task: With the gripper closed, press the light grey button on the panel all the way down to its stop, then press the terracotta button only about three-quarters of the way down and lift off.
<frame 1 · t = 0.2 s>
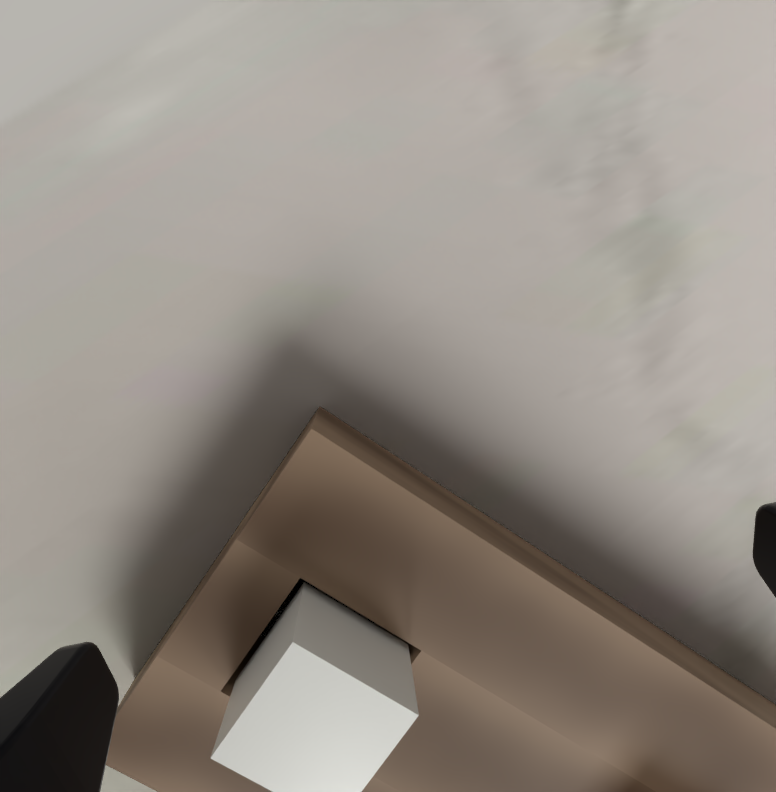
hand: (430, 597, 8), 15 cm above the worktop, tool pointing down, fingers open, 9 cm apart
button panel: (480, 700, 24), on the worktop
grey button: (319, 695, 18), point 5 cm above the worktop, slide at 0.0 cm
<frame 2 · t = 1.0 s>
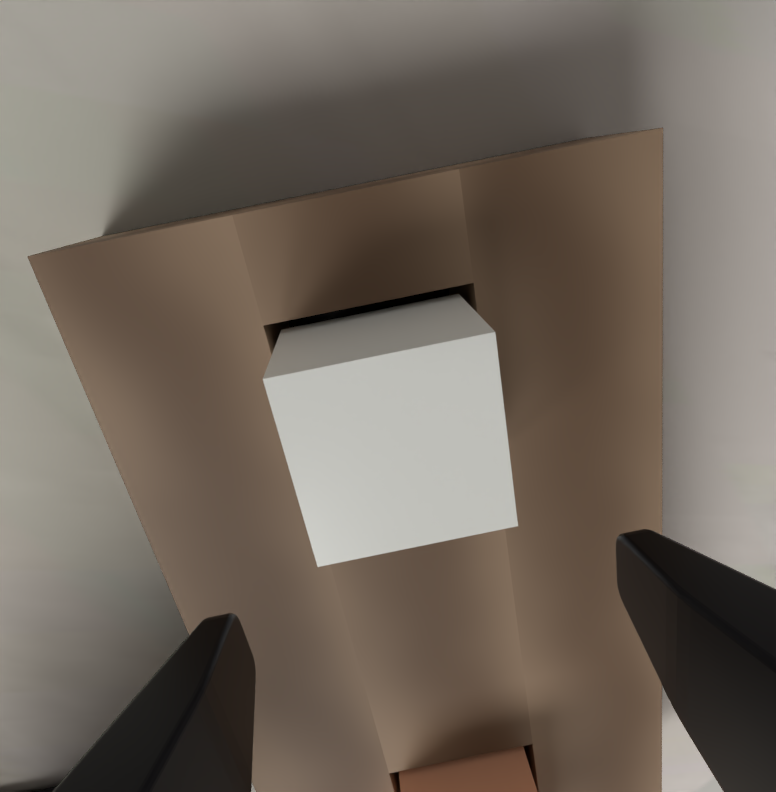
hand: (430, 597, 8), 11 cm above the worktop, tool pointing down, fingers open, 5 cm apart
button panel: (419, 555, 21), on the worktop
grey button: (392, 421, 13), point 5 cm above the worktop, slide at 0.0 cm
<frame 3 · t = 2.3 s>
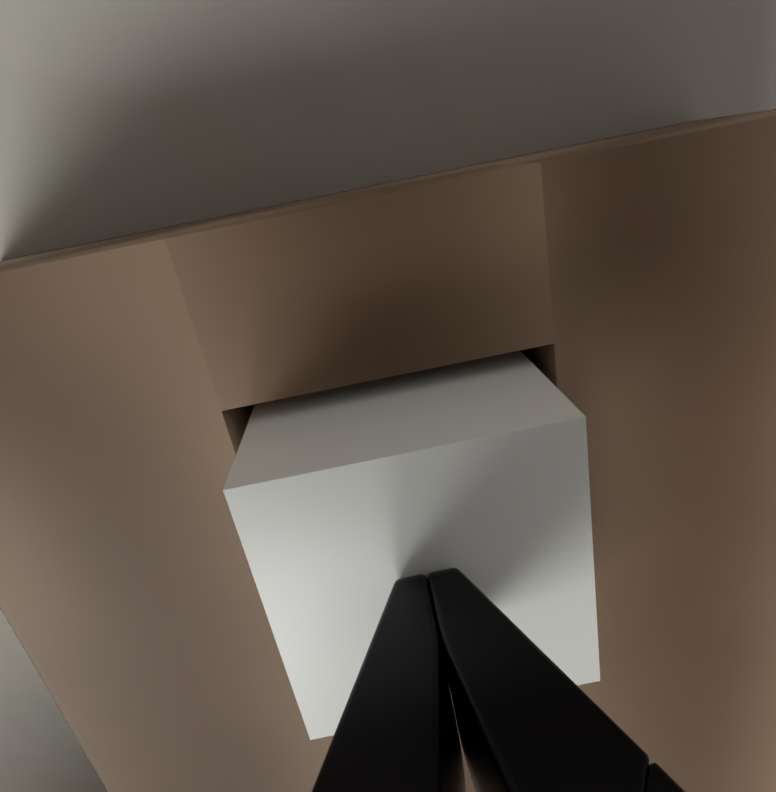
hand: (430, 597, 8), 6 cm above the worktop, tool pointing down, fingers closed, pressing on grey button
button panel: (444, 668, 16), on the worktop
grey button: (416, 520, 9), point 4 cm above the worktop, slide at 1.2 cm, touching gripper
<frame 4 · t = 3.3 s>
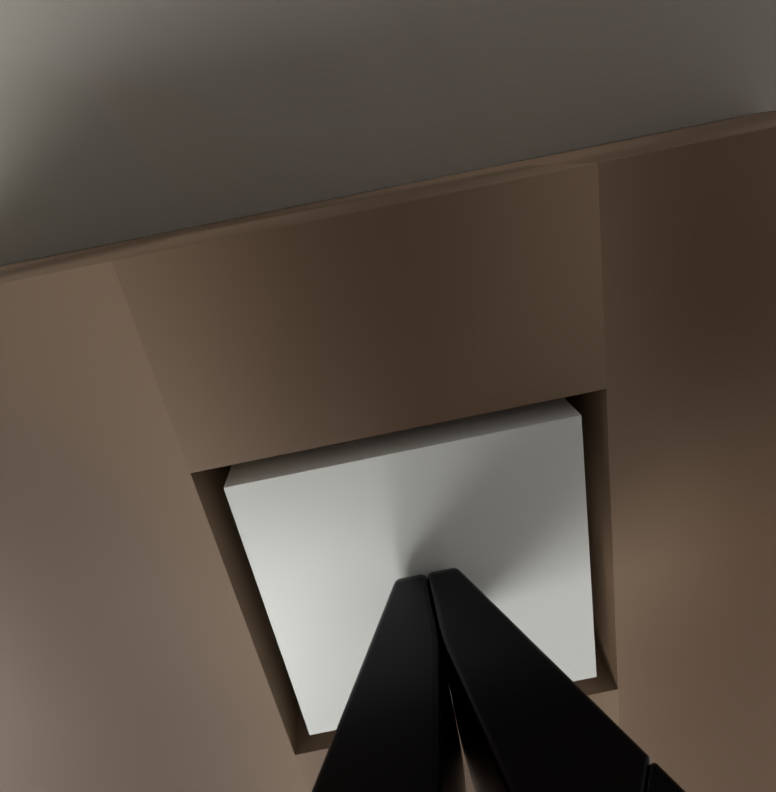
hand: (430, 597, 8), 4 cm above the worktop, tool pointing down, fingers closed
button panel: (456, 727, 14), on the worktop
grey button: (414, 518, 9), point 2 cm above the worktop, slide at 3.0 cm
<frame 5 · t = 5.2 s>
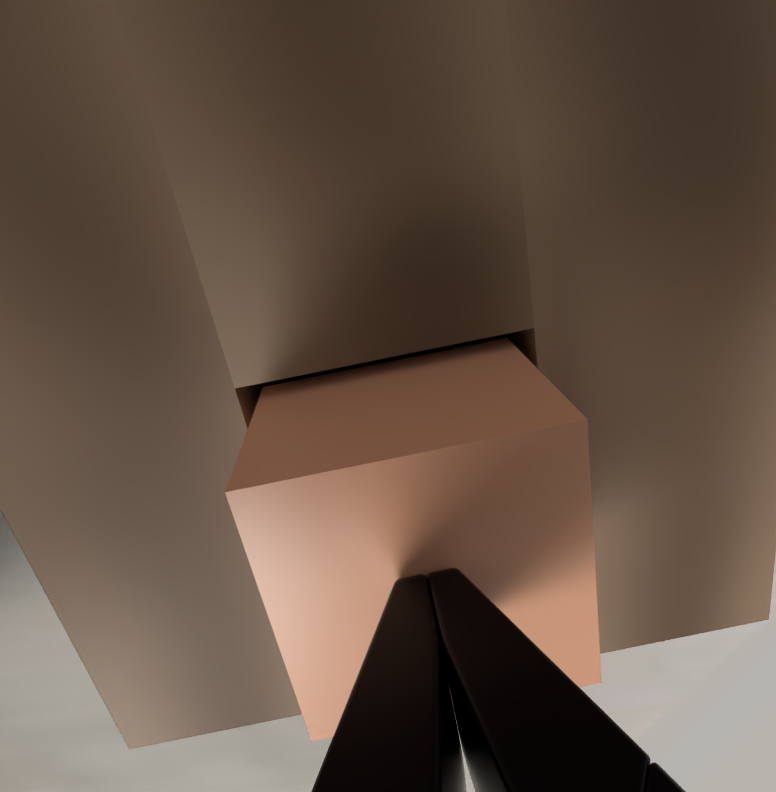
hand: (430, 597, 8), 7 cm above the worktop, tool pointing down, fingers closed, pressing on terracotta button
button panel: (316, 27, 11), on the worktop
terracotta button: (417, 522, 9), point 5 cm above the worktop, slide at 0.2 cm, touching gripper
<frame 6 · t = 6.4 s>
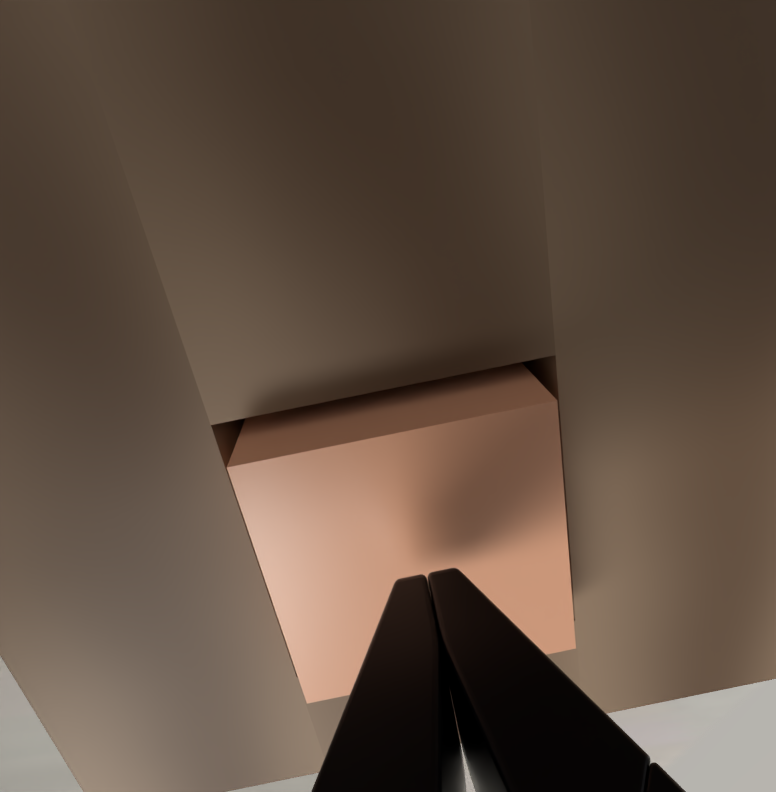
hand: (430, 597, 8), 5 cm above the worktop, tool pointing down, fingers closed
button panel: (306, 12, 10), on the worktop
terracotta button: (406, 501, 10), point 3 cm above the worktop, slide at 2.2 cm
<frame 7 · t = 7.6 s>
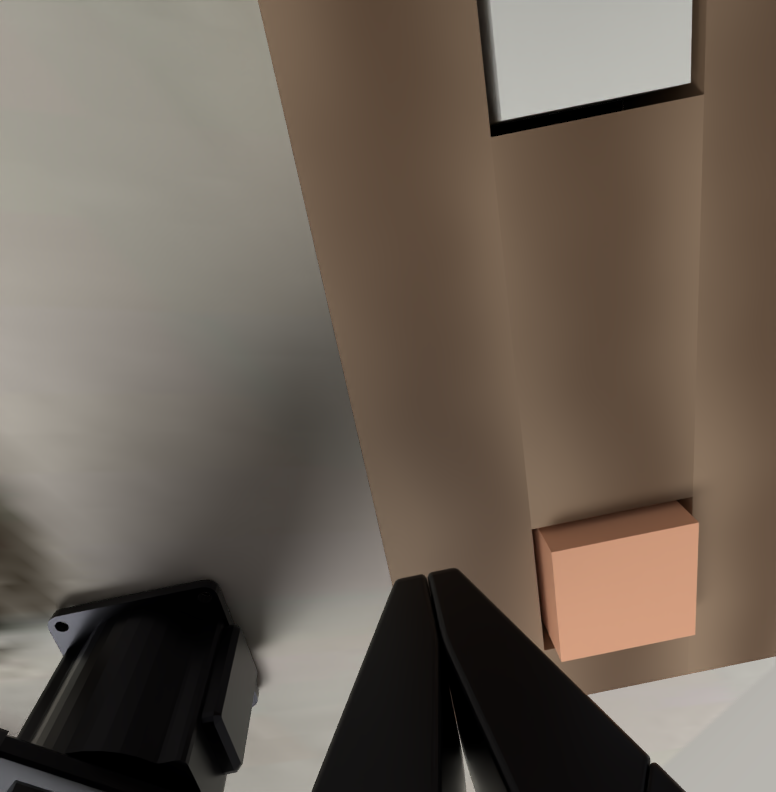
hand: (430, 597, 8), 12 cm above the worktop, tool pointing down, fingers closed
button panel: (553, 308, 19), on the worktop
terracotta button: (602, 559, 19), point 3 cm above the worktop, slide at 2.2 cm
grey button: (561, 9, 14), point 2 cm above the worktop, slide at 3.0 cm
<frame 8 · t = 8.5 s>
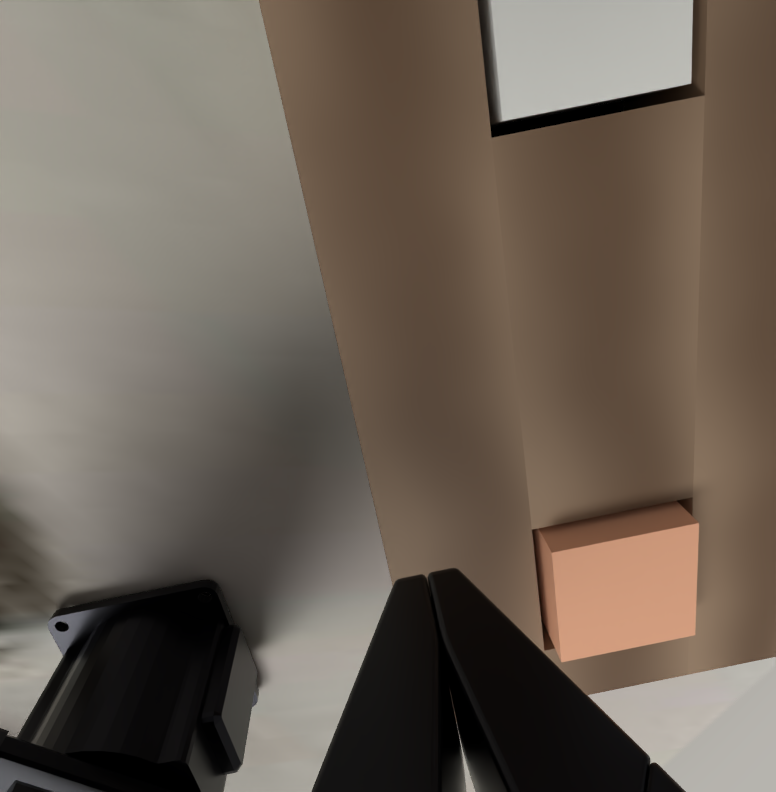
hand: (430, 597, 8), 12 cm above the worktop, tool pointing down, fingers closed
button panel: (553, 308, 19), on the worktop
terracotta button: (602, 559, 19), point 3 cm above the worktop, slide at 2.2 cm
grey button: (562, 10, 14), point 2 cm above the worktop, slide at 3.0 cm
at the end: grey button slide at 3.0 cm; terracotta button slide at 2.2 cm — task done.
